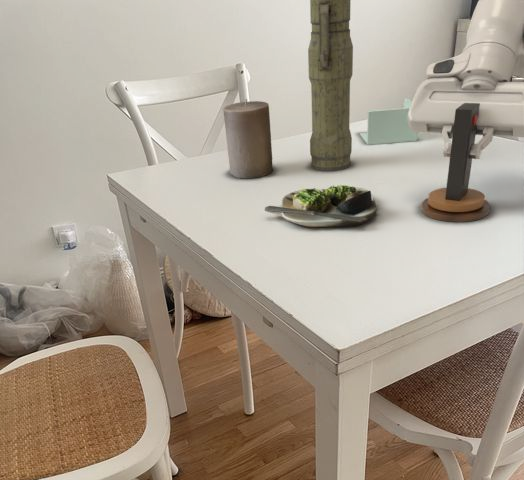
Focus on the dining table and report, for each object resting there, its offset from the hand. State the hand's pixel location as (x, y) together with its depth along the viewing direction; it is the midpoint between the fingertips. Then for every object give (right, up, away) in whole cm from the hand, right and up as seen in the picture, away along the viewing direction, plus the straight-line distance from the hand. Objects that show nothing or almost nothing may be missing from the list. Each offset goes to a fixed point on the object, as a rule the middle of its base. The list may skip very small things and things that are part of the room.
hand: (460, 156), depth 86 cm
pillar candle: (-34, +8, +33) cm, 48 cm away
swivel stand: (+1, -7, +6) cm, 9 cm away
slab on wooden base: (+1, -6, +5) cm, 8 cm away
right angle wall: (0, +22, +49) cm, 54 cm away
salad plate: (-20, -7, +9) cm, 23 cm away
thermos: (-17, +10, +33) cm, 38 cm away
